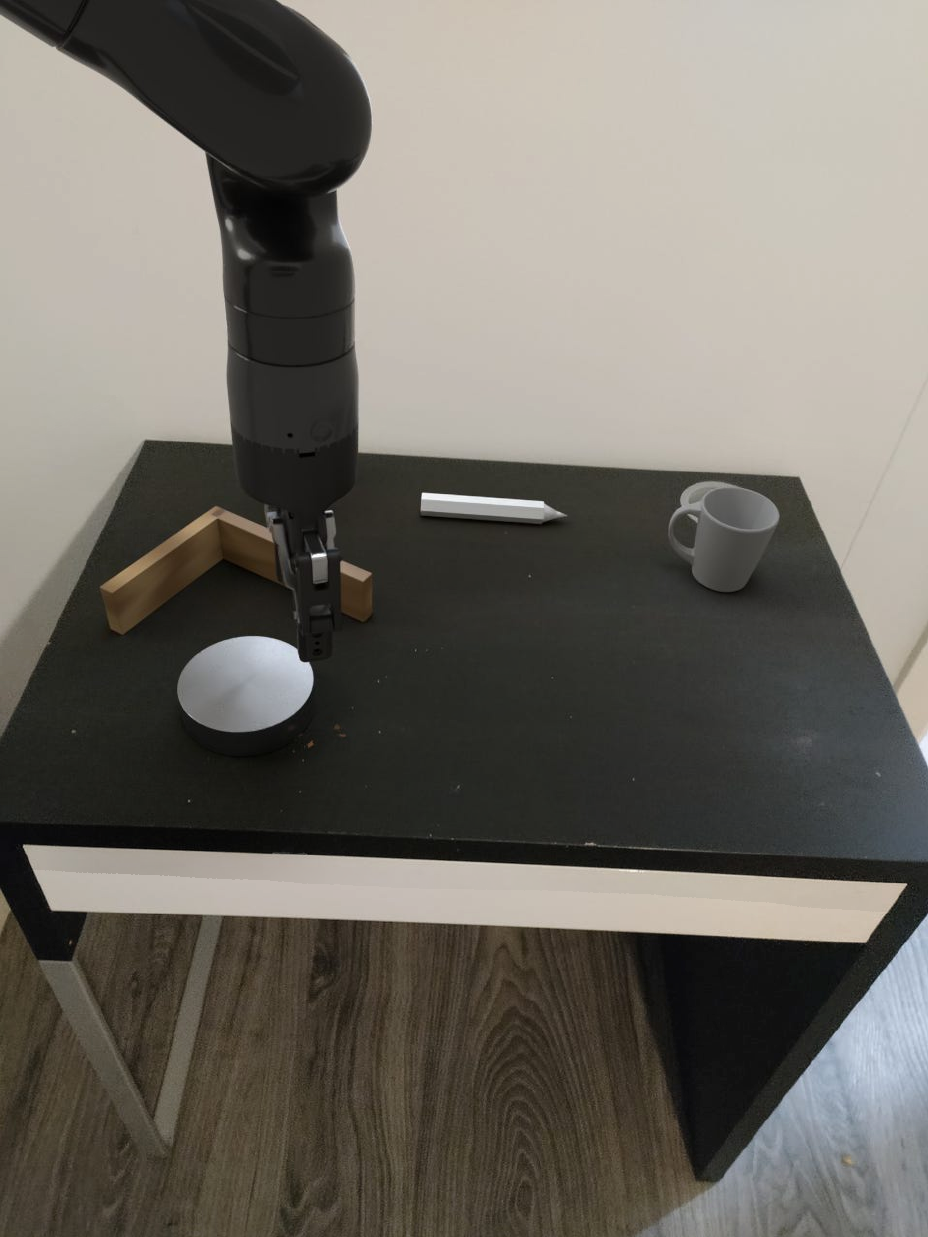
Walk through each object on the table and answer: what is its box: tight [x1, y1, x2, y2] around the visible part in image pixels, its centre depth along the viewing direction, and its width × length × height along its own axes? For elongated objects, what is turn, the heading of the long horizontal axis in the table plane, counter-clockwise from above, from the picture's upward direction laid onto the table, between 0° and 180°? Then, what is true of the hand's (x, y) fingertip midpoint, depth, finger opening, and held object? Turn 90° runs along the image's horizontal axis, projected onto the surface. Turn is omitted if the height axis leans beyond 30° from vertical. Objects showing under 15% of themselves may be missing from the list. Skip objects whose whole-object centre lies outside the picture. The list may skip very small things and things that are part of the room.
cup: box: [668, 486, 780, 593], centre depth 93 cm, size 8×10×8 cm
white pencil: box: [420, 492, 569, 525], centre depth 100 cm, size 3×2×16 cm
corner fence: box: [99, 505, 373, 636], centre depth 85 cm, size 15×18×5 cm
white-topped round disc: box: [176, 635, 316, 758], centre depth 78 cm, size 11×11×3 cm
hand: (303, 616), depth 66 cm, fingers open, 8 cm apart
